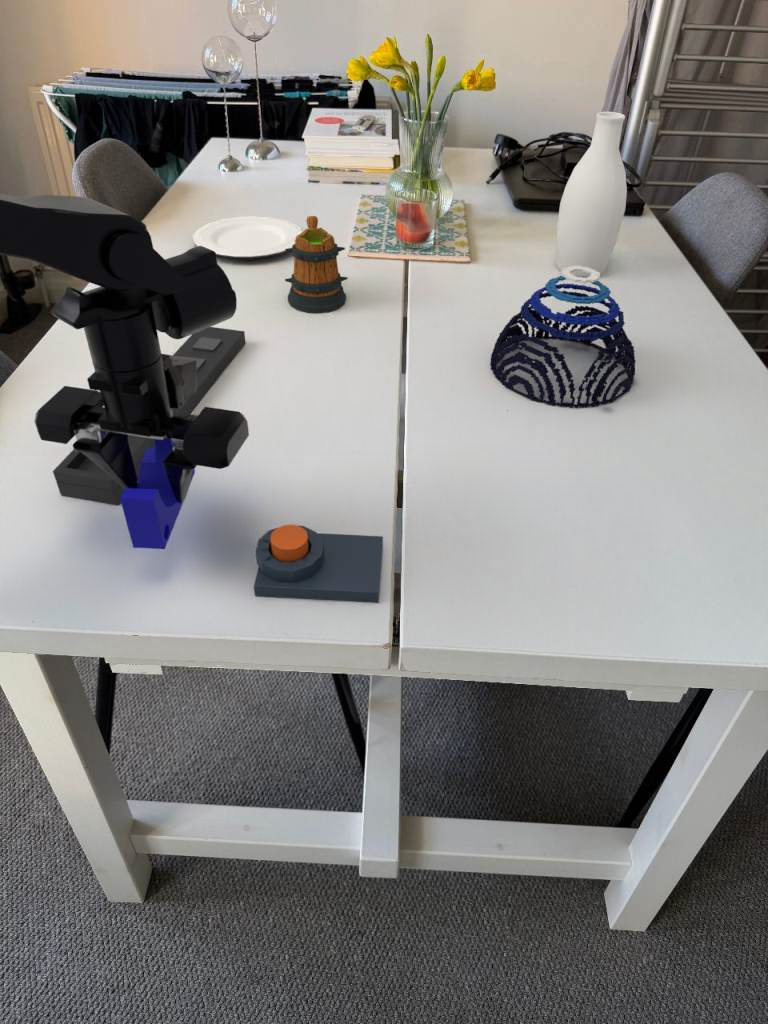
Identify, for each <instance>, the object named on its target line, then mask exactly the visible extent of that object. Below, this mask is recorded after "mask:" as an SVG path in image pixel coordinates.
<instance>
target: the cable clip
mask: <svg viewBox="0 0 768 1024" xmlns="http://www.w3.org/2000/svg"><path fill="white" fill-rule="evenodd" d="M154 440H155V447H148V448H147V450H146V452H145V454H144V456H143V458H142V460H141V464H140V473H139V479H138V480H137V481H138V484H137V487H136V488H125V489H124V491H123V493H122V495H121V497H120V500H121V502H120V504H121V508H122V511H123V515H124V519H125V521H126V522H125V523H126V527H127V530H128V533H129V538H130V541H131V545H132V548H133V549H134V548H135V549H155V550H157V549H158V550H165V549H166V547H167V544H168V543H169V539H170V537H171V535H172V532H173V529H174V527H175V524H176V522H177V519H178V516H179V515H180V512H181V510H182V506H183V504H184V502H183V503H178V501H177V500H176V498H175V496H174V494H173V491H172V488H171V486H170V483H169V480H168V477H167V474H166V472H165V469H164V466H163V463H162V462H163V461H164V460H165V458H166V457H167V456H168V454H169V453H170V452H171V450H172V449H173V445H172V441H171V439H169V438H166V439H165V440H158V439H154ZM195 469H196V468H194V469H193V471H192V476H191V480H190V484H189V488H190V486H191V483H192V480H193V478H194V476H195V473H196V470H195ZM189 488H188V490H189Z"/></svg>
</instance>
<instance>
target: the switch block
mask: <svg viewBox="0 0 768 1024" xmlns="http://www.w3.org/2000/svg"><path fill="white" fill-rule="evenodd" d="M299 526H300V527H302V528H303V529H304V530H305V531H306V532H307V535H308V553H307V554H306V556H305V557H304V558H302V559H300V560H297V561H294V562H282V561H279V560H278V559H276V558H275V557H274V556H273V554H272V549H271V540H270V537H271V534H272V532H273V531H274V530H275V529H277V528H278V527H275V528H272V529H269V530H267V532H265V534H263V535H262V536H261V537H260V538H258V540H257V545H256V548H255V559H256V564H257V567H258V568H257V572H256V576H255V581H254V583H253V591H254V597H267V598H269V597H270V598H286V599H287V598H289V599H306V600H307V599H308V600H323V601H324V600H325V601H343V602H344V601H347V602H363V603H365V602H366V603H379V602H380V588H381V573H382V561H383V546H384V545H383V544H384V543H383V542H384V537H383V536H382V535H364V534H363V535H362V534H361V535H360V534H359V535H358V534H345V533H343V534H342V533H341V534H340V533H322V532H317V531H315V530H314V529H313V530H312V529H311V528H309V527H306V526H304V525H299Z"/></svg>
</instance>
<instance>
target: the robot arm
mask: <svg viewBox="0 0 768 1024" xmlns="http://www.w3.org/2000/svg"><path fill="white" fill-rule="evenodd" d="M155 249H156V248H154V244H153V240H152V235H151V234H150V232H149V230H148V228H147V224H145V222H143V221H142V220H141V219H139V218H137V217H134V216H132V215H130V214H128V213H125V212H123V211H121V210H118V209H116V208H113V207H112V206H109V205H106V204H104V203H101V202H99V201H97V200H95V199H92V198H90V197H86V196H75V195H59V194H58V195H54V194H40V195H34V196H17V195H7V194H3V193H0V255H1V256H2V255H3V256H8V257H13V258H19V259H25V260H30V261H33V262H35V263H38V264H41V265H44V266H46V267H49V268H51V269H54V270H57V271H59V272H61V273H64V274H66V275H69V276H71V277H74V278H75V279H78V280H82V281H85V282H86V283H87V282H88V283H90V284H93V285H95V286H98V287H96V288H95V287H94V288H92V289H89V290H86V291H83V292H82V291H81V290H79V289H77V288H75V287H73V286H70V285H69V286H67V287H66V288H65V292H64V293H63V295H62V296H61V298H60V299H58V300H57V302H56V303H55V305H54V306H53V307H52V309H51V315H52V316H53V317H55V318H56V319H58V320H59V321H62V322H63V323H65V324H67V325H69V326H70V327H72V328H74V329H75V330H82V329H83V331H84V334H85V339H86V342H87V346H88V350H89V353H90V357H91V362H92V366H93V369H94V372H93V373H91V374H90V375H89V376H88V378H86V380H87V383H88V387H89V388H83V387H75V386H68V385H64V386H63V387H61V389H59V391H57V392H56V393H55V394H54V395H53V396H52V397H51V398H49V399H48V401H46V402H45V403H44V404H43V405H42V406H41V407H40V408H38V410H37V411H36V413H35V417H34V420H33V421H34V424H35V428H36V430H37V434H38V436H39V438H40V440H41V441H45V442H52V443H57V444H64V445H68V443H69V442H70V441H71V440H72V439H73V438H74V437H75V442H74V443H73V444H72V448H73V449H74V450H75V451H76V452H81V453H83V454H84V455H85V456H87V457H88V458H89V459H90V460H92V461H93V462H94V463H95V464H97V465H98V466H99V467H100V468H102V469H103V470H104V471H105V472H106V473H107V474H108V475H110V476H111V477H112V478H113V479H114V480H115V481H116V482H117V483H118V484H119V485H120V486H121V487H122V488H124V489H125V488H136V487H137V484H138V480H137V475H136V471H135V467H134V463H133V459H132V455H131V451H130V447H129V443H128V435H133V436H139V437H146V438H152V439H158V440H165V439H166V438H169V439H171V441H172V445H173V449H172V450H171V452H170V453H169V454H168V456H167V457H166V458H165V460H164V461H163V462H162V463H163V466H164V469H165V472H166V474H167V477H168V480H169V483H170V486H171V488H172V491H173V494H174V496H175V498H176V500H177V501H178V503H183V504H184V502H185V500H186V499H187V496H188V491H189V489H188V488H190V486H189V484H190V480H191V476H192V471H193V469H196V468H197V466H199V467H204V468H205V467H206V468H211V469H219V470H221V469H225V468H228V467H230V465H231V463H232V462H233V460H234V459H235V457H236V456H237V454H238V453H239V452H240V450H241V449H242V447H243V445H244V444H245V442H246V441H247V439H248V437H250V433H249V431H250V430H249V423H248V420H247V418H246V416H245V414H243V413H242V412H240V411H237V410H232V409H231V410H230V409H224V408H218V407H210V406H204V407H203V408H202V410H201V411H200V412H199V414H198V415H197V414H189V415H187V416H185V417H177V416H173V413H172V411H173V409H174V408H175V409H180V407H181V406H182V405H183V404H184V397H183V395H184V394H187V393H189V392H193V393H194V392H196V391H197V360H196V359H194V358H188V357H180V356H173V355H174V354H166V353H162V350H161V345H160V344H161V343H160V340H159V335H158V332H160V333H164V334H166V335H167V336H168V337H169V338H171V339H174V340H182V339H184V338H186V337H190V336H191V335H192V334H194V333H196V332H199V331H201V330H204V329H206V328H209V327H214V326H216V325H218V324H221V323H223V322H225V321H228V320H230V319H232V318H233V317H234V316H235V314H236V311H237V294H236V291H235V290H234V289H233V287H232V284H231V282H230V279H229V277H228V276H227V274H226V272H225V271H224V269H223V268H222V267H221V266H220V265H219V264H218V260H217V255H216V252H214V251H212V250H210V249H208V248H205V247H203V246H198V247H197V246H195V247H191V248H190V249H188V250H186V251H185V252H183V253H181V254H178V255H175V256H172V257H168V258H164V257H163V256H162V255H161V254H160V253H159V252H158V251H157V250H155ZM190 485H191V484H190Z"/></svg>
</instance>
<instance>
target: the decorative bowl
mask: <svg viewBox="0 0 768 1024" xmlns="http://www.w3.org/2000/svg"><path fill="white" fill-rule="evenodd" d="M574 271H583V272H586V273H589V274H590V276H589V277H586V276H585V277H583V276H582V277H581V276H574V275H573V274H571V272H574ZM559 274H560V275H559V276H557V277H552V278H550V279H549V280H548V281H547V282H546V284H544V285H545V286H544V287H542V288H539V289H537V290H536V291H534V292H533V294H531V296H530V298H528V299H527V300H525V302H524V303H523V305H521V307H520V311H519V312H518V313H517V314H515V315H513V316H512V317H511V318H510V319H509V321H508V322H507V323H506V325H504V328H503V329H502V330H501V332H499V335H498V337H497V339H496V340H495V343H494V346H493V349H492V352H491V355H490V363H489V366H490V370H491V371H492V373H493V375H494V378H496V380H497V381H499V383H501V385H502V386H504V387H505V388H506V389H508V390H511V392H515V393H516V394H518V395H520V396H522V397H523V398H526V399H528V400H530V401H532V402H534V401H535V402H537V403H544V404H546V405H548V406H553V407H555V406H558V407H561V408H562V407H563V408H567V407H568V408H569V409H572V408H576V409H578V408H583V409H584V408H588V407H592V408H594V407H599V406H601V405H608V404H612V403H614V402H615V401H617V400H618V399H620V398H621V397H622V396H624V395H625V394H628V392H630V391H631V389H632V385H633V383H634V379H635V375H636V361H637V360H636V356H635V349H634V348H635V346H633V343H632V340H630V339H629V337H628V335H627V333H626V332H625V329H624V325H625V324H626V322H625V321H624V320H625V319H624V316H625V314H624V311H622V310H620V309H621V307H620V306H619V303H617V301H616V299H614V298H613V297H611V296H610V294H611V292H612V291H611V289H610V288H609V287H608V286H607V285H604V284H603V283H602V282H601V281H599V280H600V278H601V276H602V274H600V272H597V271H596V270H594V269H591V268H588V267H583V266H575V265H574V266H572V267H570V266H569V267H566V268H564V269H562V271H559ZM566 280H568V281H571V282H574V283H581V284H574V283H562V284H561V283H559V282H562V281H566ZM558 283H559V284H558ZM587 283H591V284H592V285H595V286H598V288H599V289H598V288H597V287H592V286H591V285H590V286H589V285H588V286H587V285H584V284H587ZM582 284H583V285H582ZM561 289H565V290H562V291H561ZM567 289H568V290H569V289H571V290H575V291H567ZM576 290H577V291H576ZM578 290H580V291H585V292H588V293H592V294H593V295H589V294H587V293H582V292H578ZM551 297H553V298H555V299H556V300H559V301H560V302H567V303H572V304H577V305H575V306H574V307H571V308H570V309H568V310H566V311H565V312H563V313H562V312H560V311H556V312H555V313H554V312H552V308H550V307H548V306H547V305H545V304H544V303H542V299H543V298H545V299H546V298H551ZM606 300H607V301H608V302H607V301H606ZM595 303H596V304H601V305H602V306H603V305H604V306H603V307H606V308H607V309H608V310H607V312H606V311H603V310H602V309H598V308H596V307H593V306H588V305H590V304H592V305H594V304H595ZM581 304H582V305H581ZM578 305H580V306H578ZM584 305H585V306H584ZM617 318H618V319H617ZM617 320H618V321H617ZM553 321H554V323H553ZM520 325H521V326H520ZM551 325H552V326H551ZM561 326H562V327H561ZM578 326H579V327H578ZM589 327H591V328H589ZM529 328H531V336H530V333H529V331H530V329H529ZM569 328H570V329H569ZM523 329H524V330H523ZM575 329H577V330H575ZM536 330H537V331H536ZM574 330H575V331H574ZM584 330H585V331H584ZM535 331H536V332H535ZM583 331H584V332H583ZM524 332H525V333H524ZM543 339H544V340H543ZM549 339H550V340H560V341H564V340H565V341H569V342H573V343H574V342H575V343H581V344H583V345H585V346H587V347H592V348H595V349H597V350H599V351H597V357H596V358H595V360H593V362H592V363H591V365H590V367H589V368H588V370H586V371H587V372H586V373H585V375H583V378H584V379H582V380H581V384H579V386H578V390H577V389H576V388H575V384H576V383H574V380H575V379H573V377H574V375H573V374H572V372H571V370H570V367H568V364H567V362H566V360H565V359H566V356H564V353H560V350H559V348H558V347H557V346H553V345H550V343H549V342H547V341H545V340H549ZM597 340H600V341H602V343H603V345H604V347H603V346H601V345H599V344H597V343H594V342H596V341H597ZM525 341H529V342H531V343H533V344H535V345H538V346H540V347H542V348H543V350H545V351H546V352H544V351H542V350H539V349H537V348H535V347H532V346H530V345H528V343H526V342H525ZM517 350H519V351H517ZM523 350H524V351H526V352H528V353H530V354H532V355H535V356H536V357H539V358H543V361H544V362H543V361H542V360H540V359H537V358H532V357H530V356H529V355H528V354H525V353H524V352H522V351H523ZM515 351H517V352H515ZM514 352H515V353H514ZM551 352H552V353H553V354H552V353H551ZM511 353H514V354H512V355H510V354H511ZM507 354H508V355H510V356H509V357H507V358H505V356H506V355H507ZM605 354H607V355H605ZM553 356H554V358H555V359H556V360H557V362H559V363H560V364H559V365H561V368H558V367H556V365H557V363H555V362H554V361H553ZM504 358H505V359H504ZM613 358H614V360H613ZM598 361H600V362H599V364H598V366H597V365H596V364H597V363H598ZM612 362H613V363H612ZM499 363H500V364H499ZM516 363H519V364H517V365H515V364H516ZM498 364H499V365H498ZM512 364H513V365H512ZM510 365H512V366H510ZM524 365H528V366H530V367H529V368H528V367H526V366H524ZM607 365H610V366H608V367H607V368H606V370H605V372H603V373H602V375H601V377H600V378H599V380H598V379H597V378H598V377H599V375H600V373H601V372H602V370H604V368H605V367H606V366H607ZM619 365H621V366H623V369H621V370H620V371H619V372H617V373H616V375H615V376H614V377H613V378H612V379H611V381H609V384H608V381H607V380H608V378H609V377H610V375H612V373H613V372H614V371H615V370H616V368H619ZM508 366H510V367H508ZM507 367H508V368H507ZM505 368H507V369H505ZM548 368H550V370H551V371H552V372H551V373H553V376H555V382H556V383H558V385H557V386H558V388H559V389H558V393H559V397H558V399H559V400H560V401H559V402H558V401H557V400H556V399H555V398H556V393H555V389H554V385H553V382H552V380H551V379H550V377H549V375H548V374H549V370H548ZM518 370H519V371H521V372H524V373H526V374H528V375H530V378H532V379H533V381H534V384H537V389H538V393H539V397H537V396H536V395H535V390H534V386H533V384H532V383H531V382H530V380H528V379H526V378H524V377H522V376H520V375H517V374H513V375H511V376H509V375H510V374H511V373H514V372H516V371H518ZM533 370H534V371H536V372H537V374H538V375H539V376H537V374H536V373H535V372H534V371H533ZM561 370H563V372H564V373H565V375H564V377H565V378H566V380H567V382H568V383H569V384H568V387H566V386H567V385H565V383H564V378H563V376H562V373H560V371H561ZM595 370H596V371H595ZM623 375H626V376H627V377H626V378H625V379H623V380H621V381H620V382H618V384H617V385H616V386H615V388H614V389H613V392H612V393H611V396H610V397H609V398H608V399H607V397H608V395H609V393H610V391H611V389H612V386H614V384H615V383H616V382H617V381H618V379H619V378H620V377H621V376H623ZM508 376H509V377H508ZM540 378H541V379H540ZM541 380H543V382H544V385H545V387H544V386H543V384H542V382H541ZM595 383H597V384H596V386H595V388H594V390H593V392H592V391H591V390H592V388H593V387H594V386H593V385H595ZM518 384H520V385H522V386H523V388H524V390H525V393H524V392H523V391H520V390H518V389H517V388H514V387H515V386H516V385H518ZM585 384H586V386H585V387H584V385H585ZM605 385H606V386H605ZM607 385H608V386H607ZM583 387H584V388H583ZM566 388H568V389H569V391H568V390H567V389H566ZM622 388H623V389H622ZM544 389H545V390H544ZM621 389H622V391H621ZM576 390H577V391H578V392H579V393H578V396H577V397H575V395H574V393H575V391H576ZM584 390H585V391H586V392H585V397H586V399H585V402H581V400H582V397H583V396H582V395H583V392H584ZM567 391H568V392H569V393H570V395H569V398H570V399H571V402H570V401H569V402H565V401H564V400H565V396H566V395H567ZM620 391H621V392H620ZM526 393H527V394H526ZM545 393H546V394H547V400H546V399H544V398H545ZM590 397H591V399H590ZM599 398H602V399H601V401H600V400H599ZM576 400H577V401H576ZM575 401H576V404H575ZM590 401H591V402H590ZM589 402H590V403H589Z"/></svg>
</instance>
